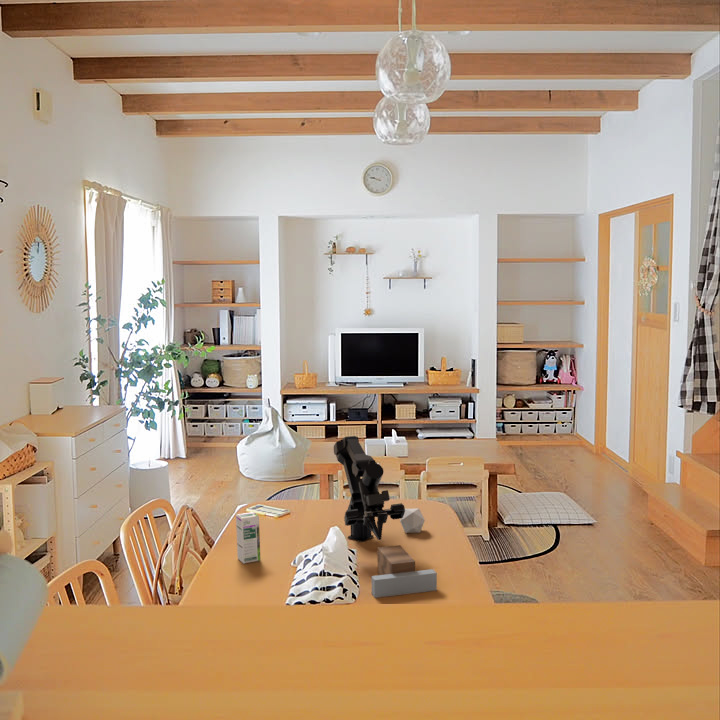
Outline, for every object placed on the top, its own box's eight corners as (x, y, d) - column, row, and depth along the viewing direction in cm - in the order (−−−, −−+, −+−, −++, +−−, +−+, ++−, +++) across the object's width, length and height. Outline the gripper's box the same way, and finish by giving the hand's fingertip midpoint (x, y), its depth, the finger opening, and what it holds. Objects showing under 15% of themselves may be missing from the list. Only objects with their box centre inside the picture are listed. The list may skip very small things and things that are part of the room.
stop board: (371, 593, 212) (371, 576, 212) (433, 586, 217) (432, 569, 216) (374, 597, 209) (374, 580, 209) (436, 590, 214) (436, 573, 213)
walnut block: (377, 573, 227) (377, 547, 226) (400, 571, 229) (400, 545, 228) (391, 591, 214) (391, 564, 213) (415, 588, 215) (415, 561, 215)
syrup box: (243, 564, 236) (241, 518, 234) (237, 558, 241) (235, 513, 240) (260, 560, 238) (259, 515, 237) (254, 555, 244) (253, 510, 242)
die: (417, 539, 259) (431, 514, 261) (395, 525, 260) (409, 501, 262) (415, 539, 267) (428, 515, 269) (393, 527, 268) (407, 503, 270)
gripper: (343, 485, 237) (352, 532, 227) (402, 478, 240) (413, 524, 231) (340, 502, 245) (349, 547, 236) (397, 495, 249) (407, 539, 240)
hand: (379, 539), depth 236 cm, fingers closed
